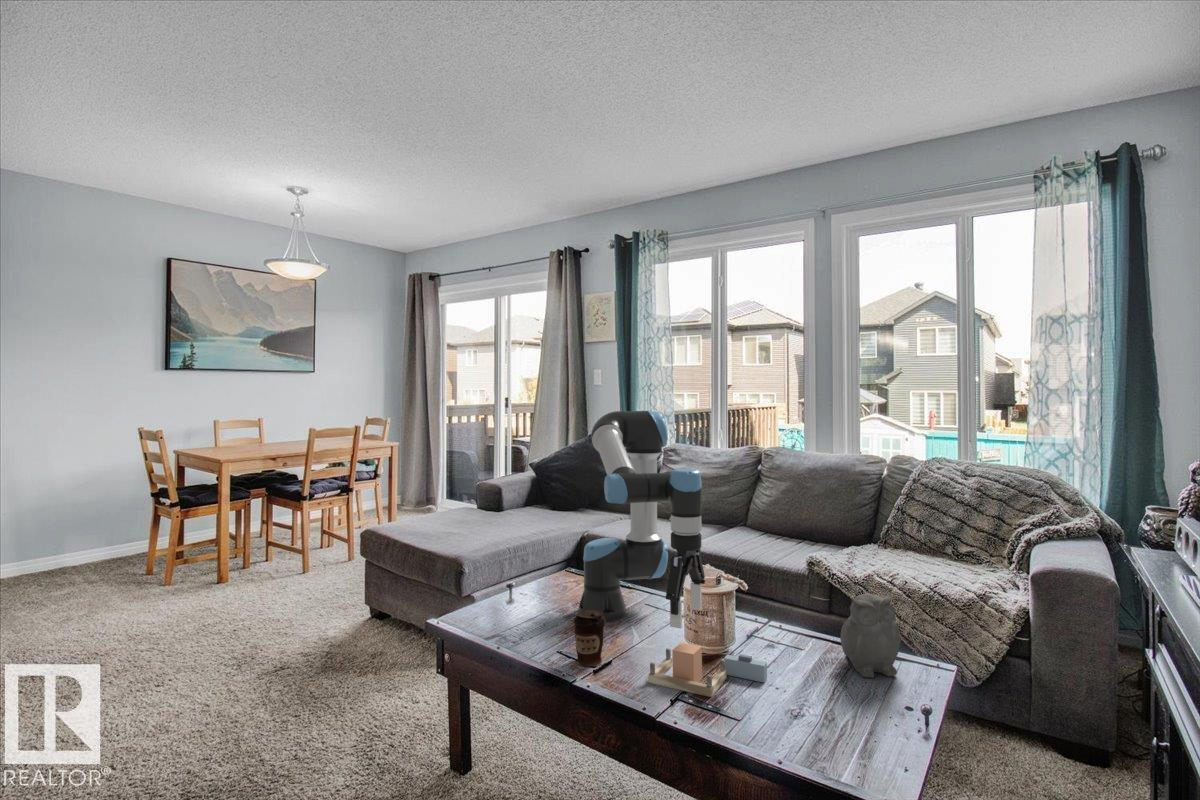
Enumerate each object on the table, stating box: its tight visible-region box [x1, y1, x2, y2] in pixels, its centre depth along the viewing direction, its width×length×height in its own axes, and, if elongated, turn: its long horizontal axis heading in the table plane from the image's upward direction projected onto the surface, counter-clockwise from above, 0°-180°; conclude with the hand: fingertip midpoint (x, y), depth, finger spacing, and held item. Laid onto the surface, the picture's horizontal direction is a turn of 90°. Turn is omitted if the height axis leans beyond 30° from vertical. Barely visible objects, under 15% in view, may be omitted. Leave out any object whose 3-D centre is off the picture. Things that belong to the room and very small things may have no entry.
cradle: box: [647, 648, 728, 698], centre depth 149 cm, size 12×16×4 cm
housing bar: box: [723, 654, 768, 683], centre depth 151 cm, size 2×10×5 cm, turn 61°
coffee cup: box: [573, 610, 606, 667], centre depth 160 cm, size 9×8×13 cm
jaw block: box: [671, 641, 703, 683], centre depth 149 cm, size 6×6×8 cm
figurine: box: [839, 592, 902, 678], centre depth 156 cm, size 14×16×20 cm
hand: (686, 618), depth 150 cm, fingers open, 13 cm apart
